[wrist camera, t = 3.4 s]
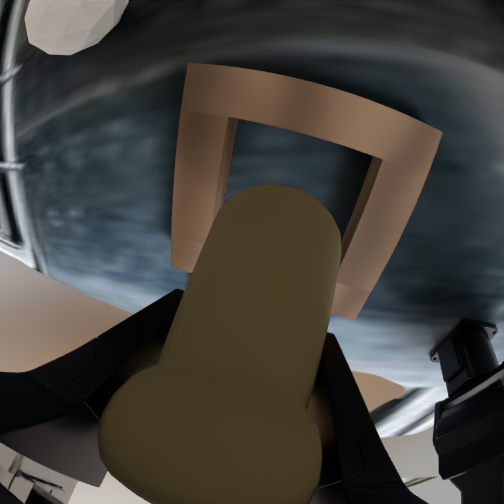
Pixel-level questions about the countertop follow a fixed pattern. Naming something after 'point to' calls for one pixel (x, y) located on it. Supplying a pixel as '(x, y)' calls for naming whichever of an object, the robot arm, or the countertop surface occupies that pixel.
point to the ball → (71, 23)
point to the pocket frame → (311, 123)
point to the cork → (235, 364)
